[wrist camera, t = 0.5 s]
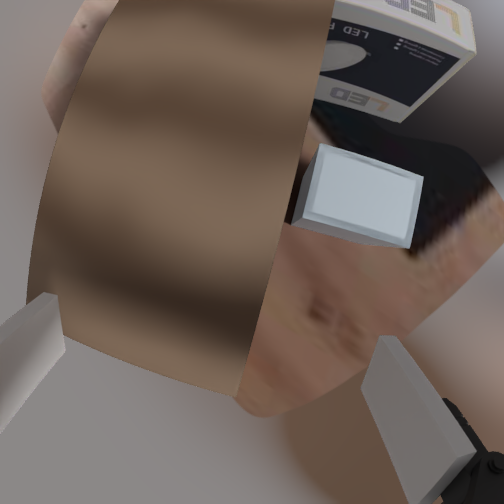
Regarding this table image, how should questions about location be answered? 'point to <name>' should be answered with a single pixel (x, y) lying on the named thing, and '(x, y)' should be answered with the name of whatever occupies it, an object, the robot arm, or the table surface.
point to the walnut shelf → (178, 180)
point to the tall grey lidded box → (358, 199)
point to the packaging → (393, 53)
